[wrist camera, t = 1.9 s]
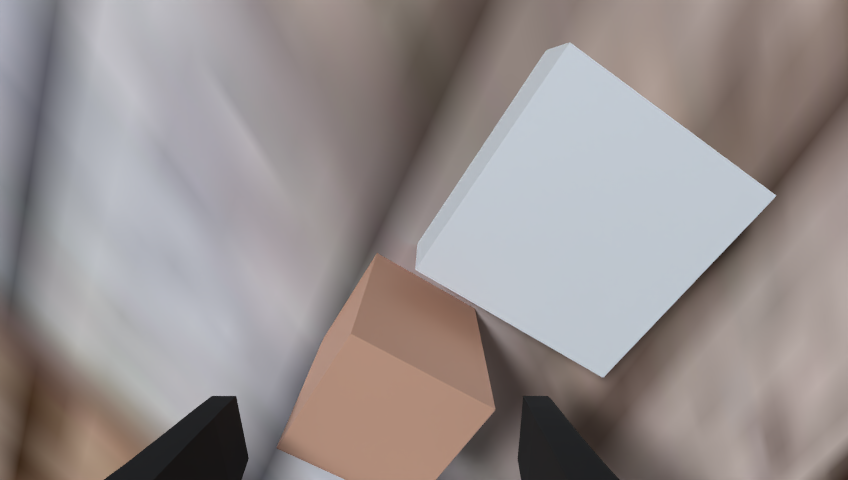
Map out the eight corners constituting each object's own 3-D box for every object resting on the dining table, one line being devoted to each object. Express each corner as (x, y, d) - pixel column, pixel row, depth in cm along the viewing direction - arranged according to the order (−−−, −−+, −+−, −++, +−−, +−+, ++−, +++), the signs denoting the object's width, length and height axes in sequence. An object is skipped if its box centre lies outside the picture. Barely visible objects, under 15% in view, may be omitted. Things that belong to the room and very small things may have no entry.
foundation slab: (715, 176, 13) (776, 195, 11) (576, 333, 15) (602, 377, 13) (542, 51, 12) (569, 42, 10) (417, 240, 14) (415, 269, 12)
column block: (474, 308, 15) (495, 409, 10) (416, 385, 16) (410, 509, 11) (377, 252, 14) (351, 333, 9) (323, 338, 15) (276, 447, 11)
